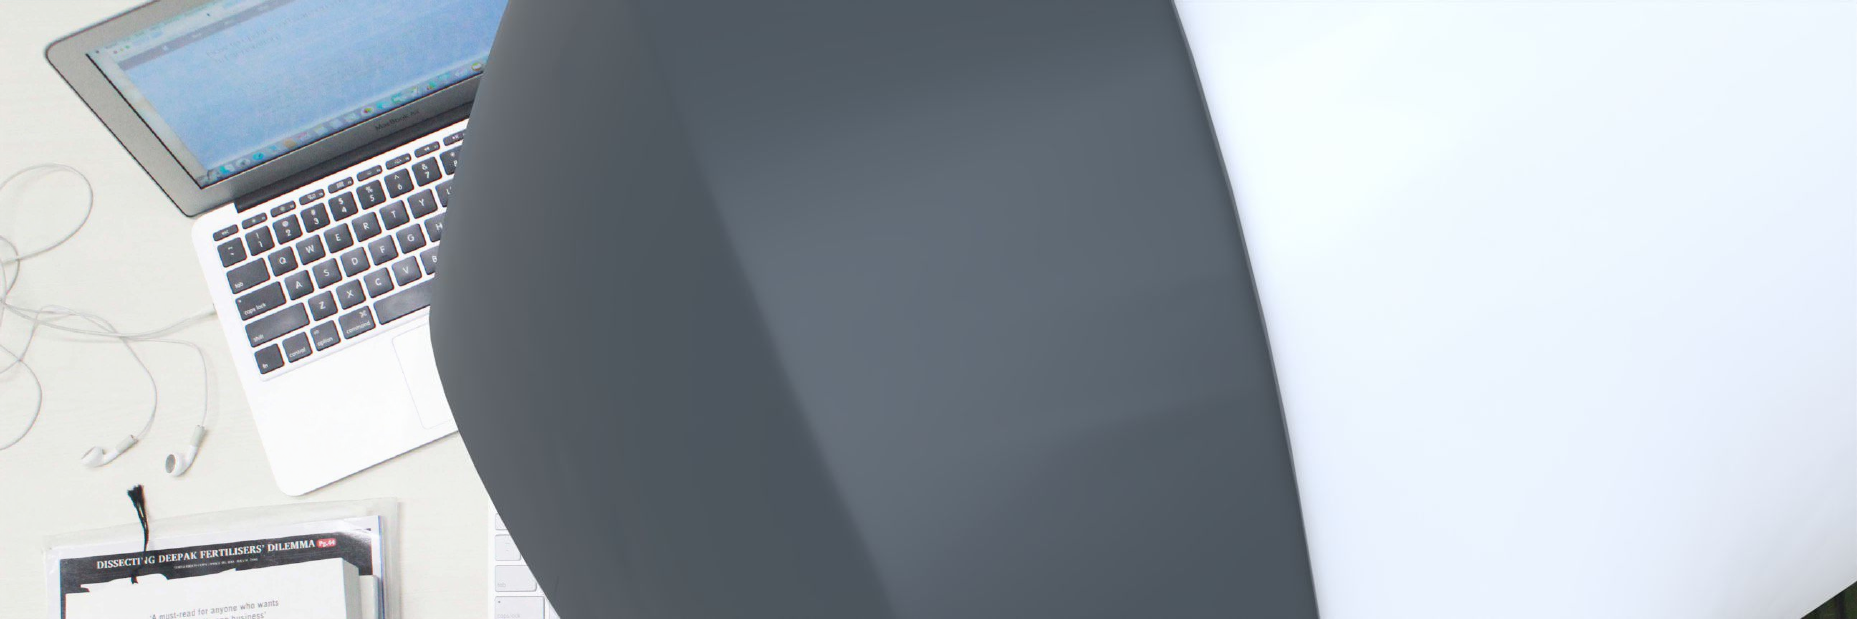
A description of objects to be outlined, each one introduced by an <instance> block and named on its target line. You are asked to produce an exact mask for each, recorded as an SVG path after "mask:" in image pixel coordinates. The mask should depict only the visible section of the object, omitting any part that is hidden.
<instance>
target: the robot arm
mask: <svg viewBox="0 0 1857 619" xmlns="http://www.w3.org/2000/svg"><path fill="white" fill-rule="evenodd" d="M494 36H495V37H494V39H493V41H492V45H491V48H490V50H489V53H488V57H487V59H486V63H485V65H484V68H483V72H482V73H481V74H482V75H481V77H480V80H479V84H478V86H477V90H476V94H475V97H474V100H473V103H472V107H471V111H470V114H469V117H468V119H467V123H466V127H465V131H464V135H463V138H462V142H461V144H460V145H461V146H460V149H459V152H458V158H457V161H456V166H455V169H454V173H453V177H452V181H451V185H450V190H449V194H448V199H447V205H446V209H445V212H444V213H445V214H444V217H443V218H444V219H443V222H442V223H443V224H442V229H441V234H440V239H439V244H438V249H437V255H436V263H435V268H434V276H433V281H432V287H431V295H430V301H429V313H428V325H429V327H428V328H429V337H430V343H431V349H432V352H433V353H432V354H433V359H434V362H435V367H436V370H437V374H438V377H439V380H440V383H441V386H442V390H443V393H444V396H445V399H446V402H447V404H448V407H449V410H450V412H451V415H452V418H453V420H454V422H455V426H456V427H457V431H458V433H459V435H460V437H461V439H462V442H463V444H464V446H465V448H466V450H467V452H468V456H469V457H470V460H471V462H472V464H473V466H474V468H475V472H476V473H477V475H478V477H479V479H480V482H481V483H482V485H483V486H484V488H485V491H486V492H487V494H488V497H489V499H490V500H491V502H492V504H493V506H494V508H495V510H496V512H497V514H498V516H499V518H500V520H501V522H502V523H503V525H504V527H505V529H506V530H507V533H508V534H509V535H510V538H511V539H512V541H513V542H514V545H515V546H516V548H517V550H518V552H519V553H520V556H521V557H522V560H523V561H524V563H525V564H526V567H527V569H528V570H529V573H530V574H531V576H532V577H533V579H534V581H535V583H536V584H537V587H538V588H539V590H540V592H541V593H542V595H543V597H544V599H545V601H546V603H547V604H548V606H549V608H550V609H551V611H552V613H553V614H554V615H555V617H556V618H557V619H1802V618H1805V616H1806V615H1808V614H1809V613H1811V612H1813V611H1814V610H1815V609H1817V608H1819V607H1820V606H1821V605H1823V604H1825V603H1827V601H1829V600H1830V599H1832V598H1834V597H1835V596H1837V595H1838V594H1839V593H1841V592H1843V591H1844V590H1845V589H1847V588H1848V587H1850V586H1852V585H1854V584H1855V583H1856V582H1857V0H507V3H506V5H505V8H504V11H503V13H502V16H501V19H500V22H499V25H498V27H497V31H496V33H495V35H494Z"/></svg>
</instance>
